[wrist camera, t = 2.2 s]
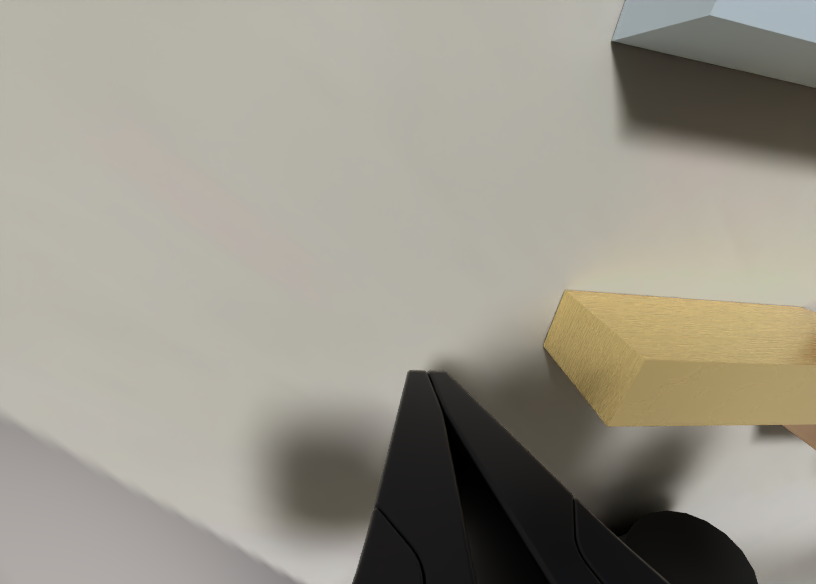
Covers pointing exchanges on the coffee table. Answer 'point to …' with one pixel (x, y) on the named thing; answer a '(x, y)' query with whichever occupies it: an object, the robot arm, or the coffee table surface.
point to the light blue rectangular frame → (728, 34)
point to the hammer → (688, 550)
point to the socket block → (804, 433)
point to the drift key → (687, 359)
